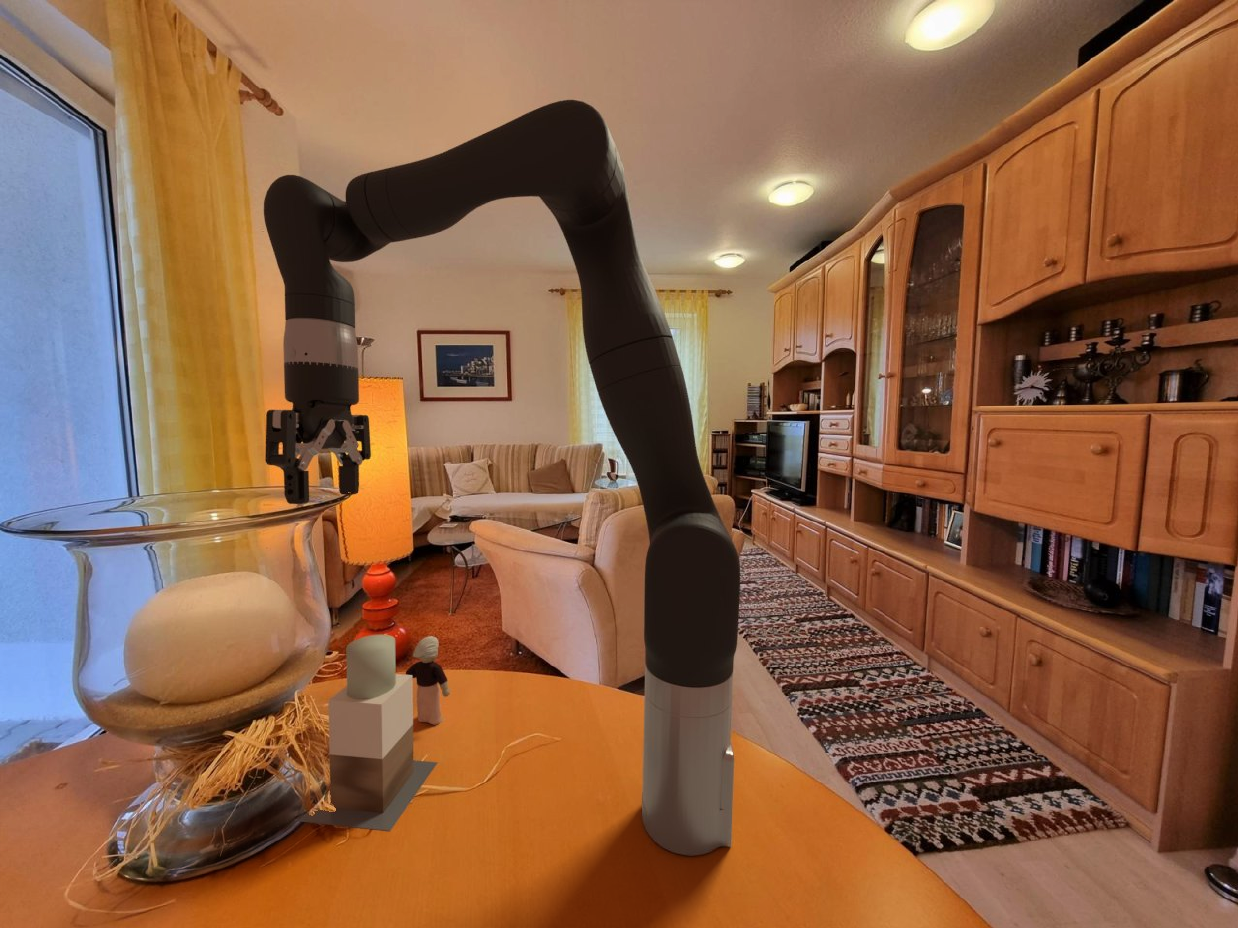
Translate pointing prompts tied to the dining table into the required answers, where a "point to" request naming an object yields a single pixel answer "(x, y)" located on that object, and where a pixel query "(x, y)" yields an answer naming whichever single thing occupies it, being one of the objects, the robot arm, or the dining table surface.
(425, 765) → the coaster
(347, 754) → the tower top
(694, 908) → the dining table surface
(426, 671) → the grandmother figurine
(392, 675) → the drum
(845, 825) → the dining table surface
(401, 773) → the tower base
